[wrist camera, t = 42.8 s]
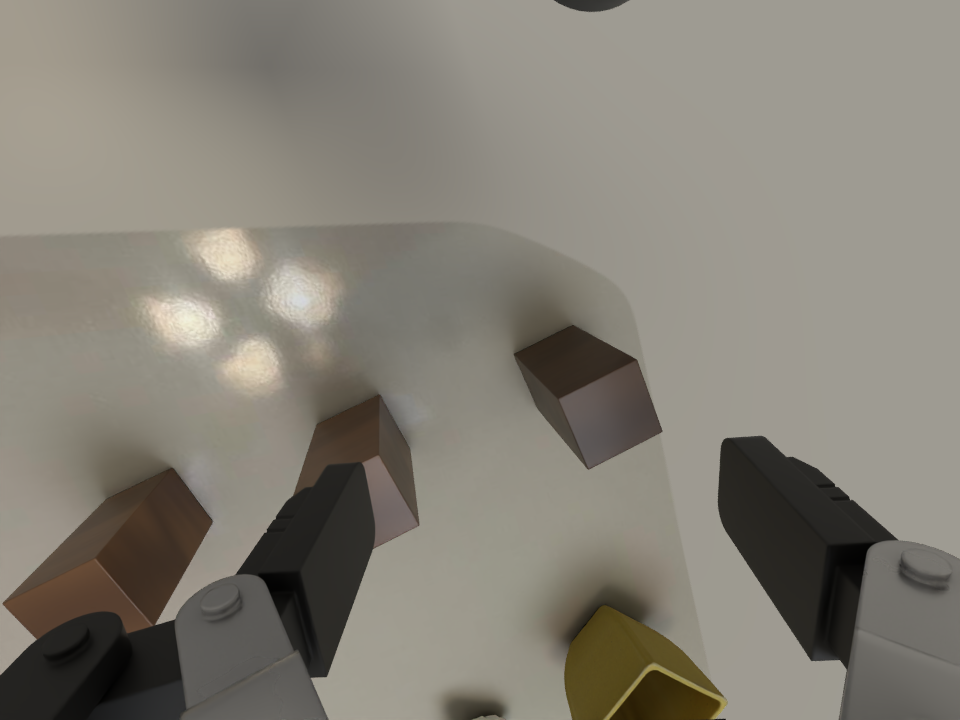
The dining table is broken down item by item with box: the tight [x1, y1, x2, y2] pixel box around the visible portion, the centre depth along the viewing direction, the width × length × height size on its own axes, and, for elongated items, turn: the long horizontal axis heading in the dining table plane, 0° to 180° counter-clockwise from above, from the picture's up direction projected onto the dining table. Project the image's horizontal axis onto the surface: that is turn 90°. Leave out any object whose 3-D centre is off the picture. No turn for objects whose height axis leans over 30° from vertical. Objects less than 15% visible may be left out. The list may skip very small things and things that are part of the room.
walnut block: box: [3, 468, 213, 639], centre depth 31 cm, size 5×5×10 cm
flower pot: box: [564, 605, 728, 720], centre depth 42 cm, size 9×9×9 cm
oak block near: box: [514, 325, 662, 469], centre depth 34 cm, size 5×5×10 cm
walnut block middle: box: [293, 395, 419, 549], centre depth 32 cm, size 5×5×10 cm
